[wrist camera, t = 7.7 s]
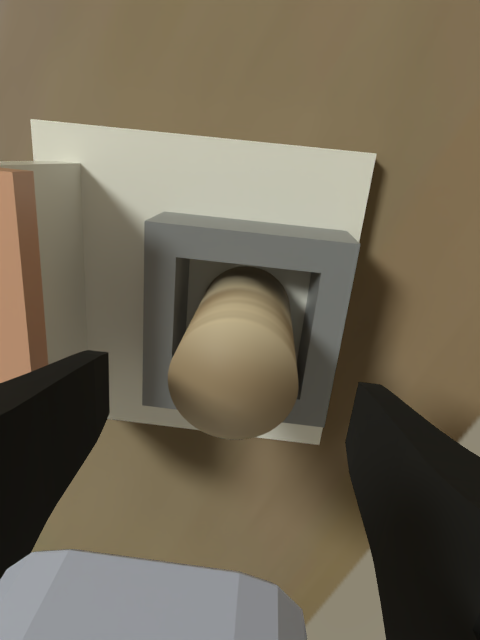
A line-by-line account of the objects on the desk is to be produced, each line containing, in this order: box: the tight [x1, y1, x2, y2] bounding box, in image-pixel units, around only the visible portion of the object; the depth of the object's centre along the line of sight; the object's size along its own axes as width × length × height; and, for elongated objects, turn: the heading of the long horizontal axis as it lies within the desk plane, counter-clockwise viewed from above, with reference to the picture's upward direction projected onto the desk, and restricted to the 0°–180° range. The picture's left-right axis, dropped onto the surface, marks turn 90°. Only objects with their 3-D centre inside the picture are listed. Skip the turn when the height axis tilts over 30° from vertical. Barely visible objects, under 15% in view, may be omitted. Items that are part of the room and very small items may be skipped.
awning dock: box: [0, 119, 376, 445], centre depth 16 cm, size 14×14×8 cm
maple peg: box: [168, 266, 298, 440], centre depth 16 cm, size 4×4×7 cm
